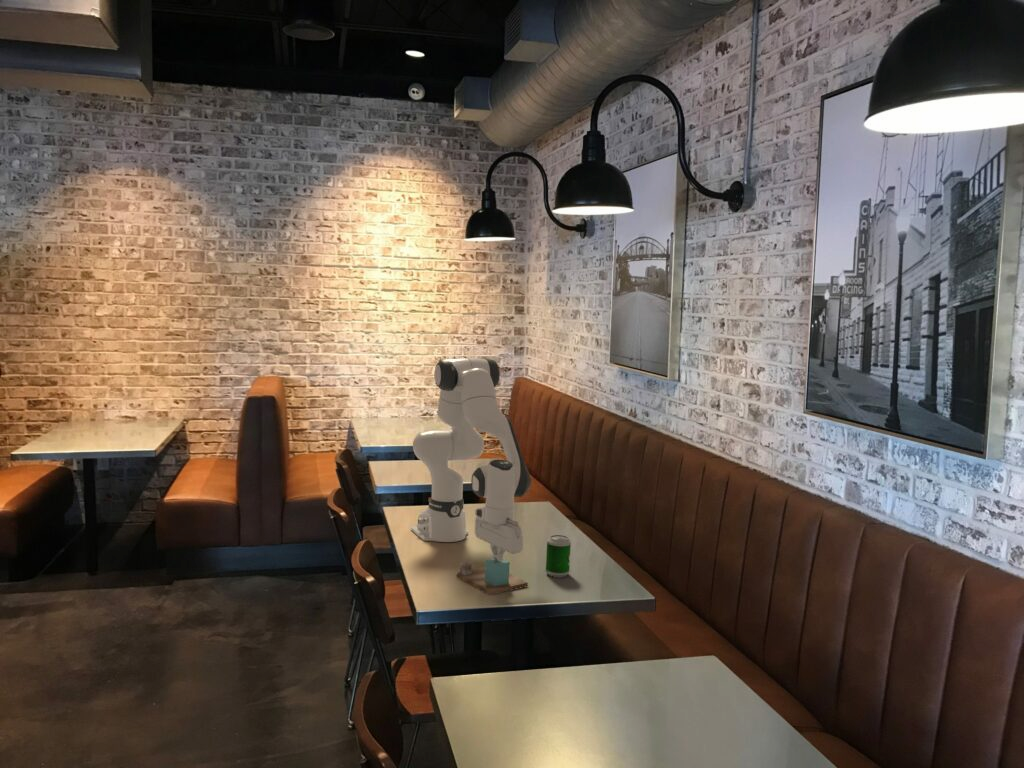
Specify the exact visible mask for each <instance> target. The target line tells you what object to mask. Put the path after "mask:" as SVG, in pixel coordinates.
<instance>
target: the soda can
mask: <svg viewBox="0 0 1024 768" xmlns="http://www.w3.org/2000/svg"><path fill="white" fill-rule="evenodd" d="M571 543H572V541H571V539H570V538H569V537H568V536H567V535H563V534H553V535H550V536H549V538H547V542H546V557H545V558H546V559H545V560H546V561H545V572H546V573H547V575H548V574H549V575H548V576H550V577H552V576H553V577H552V578H565V577H566V576H567V575H568V574H569V573H570V566H571V548H572V547H571V545H572V544H571Z"/></svg>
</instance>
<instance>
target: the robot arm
mask: <svg viewBox="0 0 1024 768" xmlns="http://www.w3.org/2000/svg"><path fill="white" fill-rule="evenodd" d="M433 375H434V376H433V377H434V381H435V385H436V386H437V388H439V389H440V392H439V398H438V399H439V400H438V407H437V416H438V419H439V420H441V422H443V423H444V424H446V425H447V426H450V427H451V428H450V429H433V430H425V431H421V432H418V433H417V434H416V436H414V439H413V442H412V450H413V453H414V455H415V457H416V458H417V459H418V460H420V461H421V462H422V463H423V464H424V466H426V467H427V470H428V471H429V474H430V478H431V497H428V500H427V501H428V502H429V503H428V507H427V508H426V509H424V510H423V511H421V512H420V513H419V514H418V516H417V524H415V525H413V526H411V527H410V531H412V532H413V533H414V534H415V535H416V536H417V537H418V538H419V539H421V540H422V541H426V542H428V541H429V542H438V543H452V542H455V543H456V542H458V541H459V542H460V541H463V540H464V539H466V536H467V535H468V534H469V530H468V529H467V525H466V524H467V523H466V521H467V520H466V513H465V512H466V511H464V510H463V509H464V505H465V503H464V498H463V496H464V495H463V493H464V491H463V489H464V479H463V476H462V475H461V473H459V472H458V471H457V470H454V469H452V468H450V467H449V465H448V464H449V463H448V462H451V461H452V462H453V461H469V460H473V459H478V458H480V457H481V455H482V453H483V452H484V449H485V440H484V437H483V435H482V434H481V433H480V432H483V433H487V434H489V435H491V436H493V437H495V438H496V439H498V441H499V442H500V444H501V445H502V449H503V452H504V455H505V457H506V460H505V459H493V460H491V461H489V462H488V464H487V465H483V466H480V467H477V468H476V469H475V470H474V471H473V473H472V475H471V481H470V483H471V491H472V492H473V493H474V494H475V495H476V496H477V497H479V498H485V502H484V503H485V504H484V507H483V506H482V507H479V508H475V510H474V514H475V518H474V519H475V522H474V534H475V537H476V538H478V539H479V540H482V541H484V542H486V543H488V544H490V545H489V547H490V549H491V550H490V551H491V554H492V558H493V559H495V560H497V561H502V560H503V559H504V554H505V553H506V552H507V553H510V554H512V555H515V554H520V553H521V552H522V551H523V548H524V544H523V543H524V542H523V541H524V540H523V539H524V538H523V531H522V528H521V526H520V524H519V522H518V521H516V520H515V507H516V506H515V500H514V499H515V498H522V497H523V496H525V495H526V494H527V493H528V491H529V490H530V488H531V484H532V479H531V474H530V472H529V470H528V467H527V466H526V465H527V464H525V461H524V457H523V455H522V451H521V448H520V445H519V442H518V439H517V435H516V432H515V430H514V427H513V425H512V422H511V420H510V418H509V417H508V416H507V415H505V414H503V412H502V409H500V407H499V404H498V399H497V395H496V389H495V388H496V386H497V385H498V384H499V382H500V377H501V376H500V375H501V374H500V366H499V365H498V363H497V362H496V360H494V359H490V358H479V357H478V358H477V357H466V358H465V357H464V358H462V357H461V358H453V359H452V358H451V359H450V358H445V359H441V360H439V361H438V362H437V363H436V364H435V368H434V373H433ZM479 431H480V432H479ZM492 558H491V559H492Z"/></svg>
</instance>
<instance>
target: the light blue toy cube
mask: <svg viewBox="0 0 1024 768" xmlns="http://www.w3.org/2000/svg"><path fill="white" fill-rule="evenodd" d="M510 564H511V563H510V561H509V560H507V559H504V558H503V560H502V561H497V560H495V559H493V558H487V559H485V565H484V567H485V581H486V582H487V583H489V584H491V585H493V586H498V585H503V584H508V583H509V574H510Z"/></svg>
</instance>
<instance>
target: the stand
mask: <svg viewBox="0 0 1024 768" xmlns="http://www.w3.org/2000/svg"><path fill="white" fill-rule="evenodd" d="M472 565H473V564H471V563H469V562H462V563H459V572H456V576H457V578H458V577H459V578H458V579H460V578H461V579H460V580H462V579H463V580H462V581H464V580H465V581H466V582H465V581H464V582H465V583H467V582H468V583H467V584H469V583H470V584H469V585H471V584H472V585H471V586H473V587H474V586H475V587H474V588H476V587H477V588H476V589H478V588H479V589H478V590H480V591H482V590H483V591H484V592H483V591H482V592H483V593H485V592H486V593H485V594H487V593H488V594H487V595H489V594H492V595H494V594H493V593H496V594H499V593H498V592H501V593H503V592H502V591H505V592H509V591H508V590H510V591H512V590H511V589H514V590H517V589H516V588H519V589H521V588H520V587H523V588H526V587H525V586H528V585H529V582H527V581H525V580H524V579H521V578H519V577H517V576H515V575H513V574H511V573H509V583H508V584H503V585H498V586H493V585H491V584H489V583H487V582H486V581H485V566H484V567H479V568H473V569H472Z"/></svg>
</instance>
